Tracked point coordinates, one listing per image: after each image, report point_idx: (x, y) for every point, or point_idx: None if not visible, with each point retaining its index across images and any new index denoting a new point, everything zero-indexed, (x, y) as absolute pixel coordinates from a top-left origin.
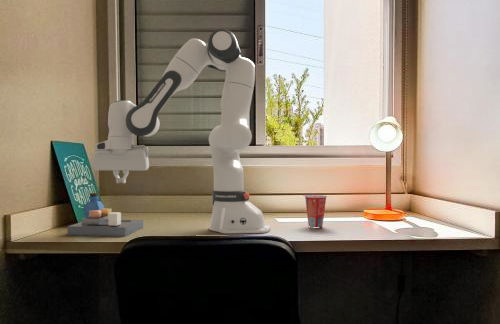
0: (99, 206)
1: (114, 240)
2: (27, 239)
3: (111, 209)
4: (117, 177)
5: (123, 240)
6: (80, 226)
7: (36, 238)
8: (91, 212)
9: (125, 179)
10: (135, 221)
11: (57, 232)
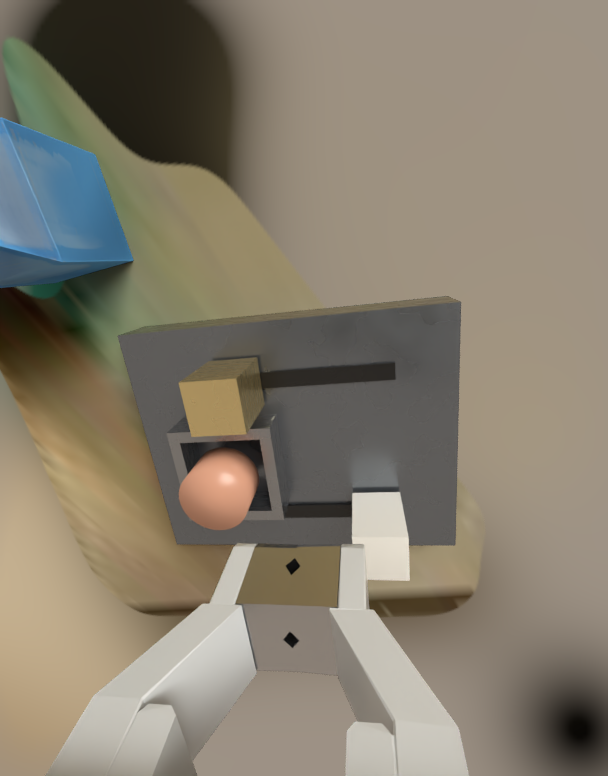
0: (29, 229)
1: (431, 574)
2: (121, 581)
3: (238, 378)
4: (246, 686)
5: (468, 572)
6: (232, 542)
7: (134, 568)
8: (216, 526)
9: (367, 599)
10: (435, 380)
11: (111, 475)
